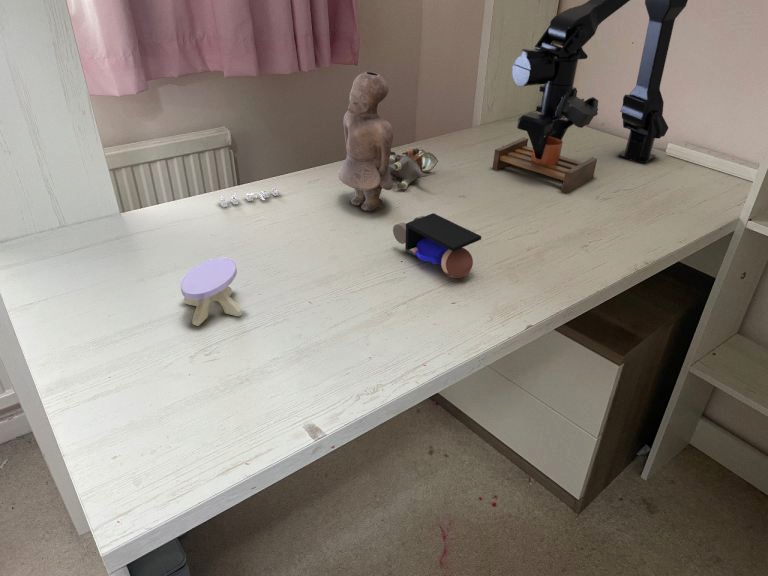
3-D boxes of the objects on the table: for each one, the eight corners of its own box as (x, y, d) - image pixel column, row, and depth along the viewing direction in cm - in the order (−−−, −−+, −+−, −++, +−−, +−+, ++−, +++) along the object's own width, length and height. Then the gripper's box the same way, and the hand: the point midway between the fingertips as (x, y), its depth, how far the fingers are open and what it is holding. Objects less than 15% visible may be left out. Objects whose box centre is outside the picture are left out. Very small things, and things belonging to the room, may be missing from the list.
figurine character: (390, 258, 104) (452, 288, 94) (388, 216, 101) (452, 242, 90) (419, 247, 108) (482, 274, 98) (419, 206, 105) (484, 230, 94)
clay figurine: (325, 200, 120) (323, 68, 106) (364, 187, 126) (366, 61, 112) (368, 224, 112) (371, 84, 98) (408, 209, 118) (416, 76, 104)
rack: (520, 155, 144) (523, 137, 142) (593, 178, 134) (597, 158, 132) (492, 168, 137) (494, 149, 134) (566, 193, 127) (570, 173, 124)
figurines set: (275, 192, 122) (274, 179, 121) (281, 197, 120) (280, 184, 119) (216, 204, 117) (215, 190, 115) (221, 210, 115) (220, 196, 113)
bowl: (540, 153, 137) (543, 134, 135) (563, 160, 134) (567, 141, 132) (526, 160, 134) (529, 140, 131) (550, 167, 130) (553, 147, 128)
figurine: (344, 150, 129) (391, 132, 140) (345, 178, 132) (391, 157, 143) (424, 168, 118) (467, 146, 130) (424, 197, 121) (466, 174, 133)
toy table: (214, 283, 93) (210, 251, 90) (260, 302, 90) (257, 268, 87) (165, 315, 86) (158, 280, 83) (213, 336, 82) (208, 301, 79)
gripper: (573, 99, 114) (557, 177, 123) (616, 82, 126) (599, 154, 135) (521, 86, 121) (510, 162, 129) (567, 72, 132) (554, 141, 141)
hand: (545, 155), depth 133 cm, fingers closed on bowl, 6 cm apart
